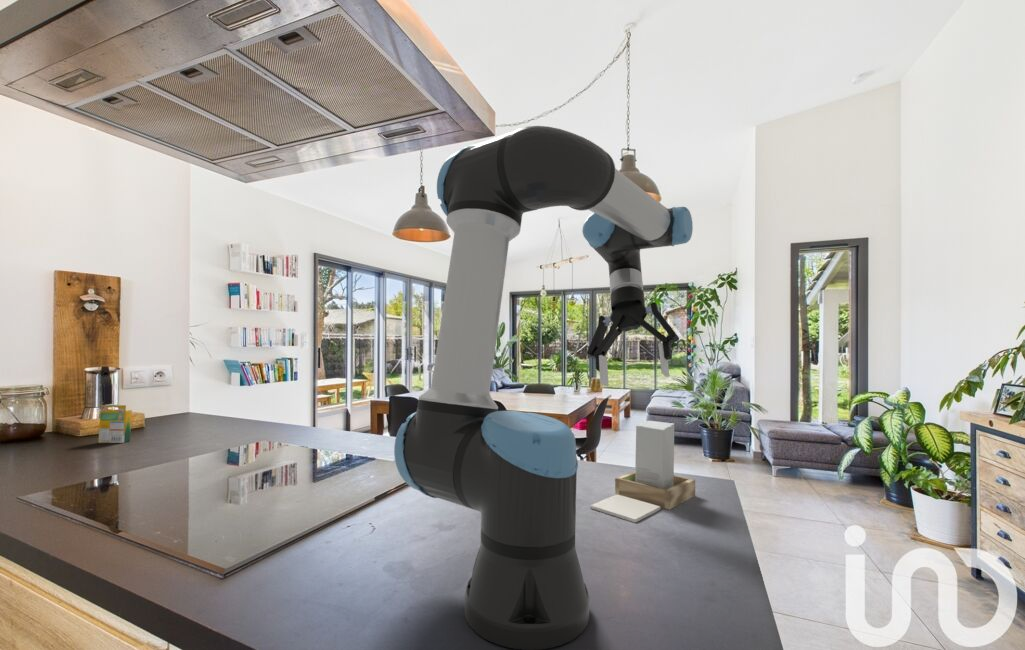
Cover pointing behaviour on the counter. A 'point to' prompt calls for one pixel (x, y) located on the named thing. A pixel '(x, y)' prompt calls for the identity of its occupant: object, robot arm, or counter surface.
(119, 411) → the crayon box
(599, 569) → the counter surface
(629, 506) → the coaster
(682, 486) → the pocket
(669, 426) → the skincare box
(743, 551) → the counter surface
